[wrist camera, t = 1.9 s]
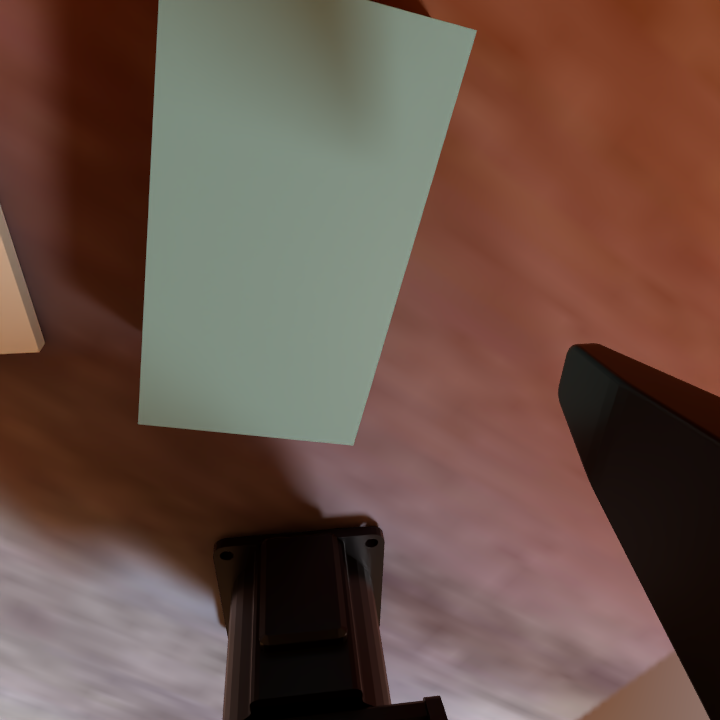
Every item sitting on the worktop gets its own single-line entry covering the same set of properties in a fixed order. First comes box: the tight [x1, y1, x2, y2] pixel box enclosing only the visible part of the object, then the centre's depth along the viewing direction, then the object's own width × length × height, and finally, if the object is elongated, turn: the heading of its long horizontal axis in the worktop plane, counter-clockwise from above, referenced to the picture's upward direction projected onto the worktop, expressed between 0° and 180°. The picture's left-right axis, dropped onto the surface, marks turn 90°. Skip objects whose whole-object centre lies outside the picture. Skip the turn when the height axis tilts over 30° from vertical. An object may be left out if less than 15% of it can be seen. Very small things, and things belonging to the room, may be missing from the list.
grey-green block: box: [138, 0, 477, 445], centre depth 14 cm, size 10×6×4 cm, turn 167°
